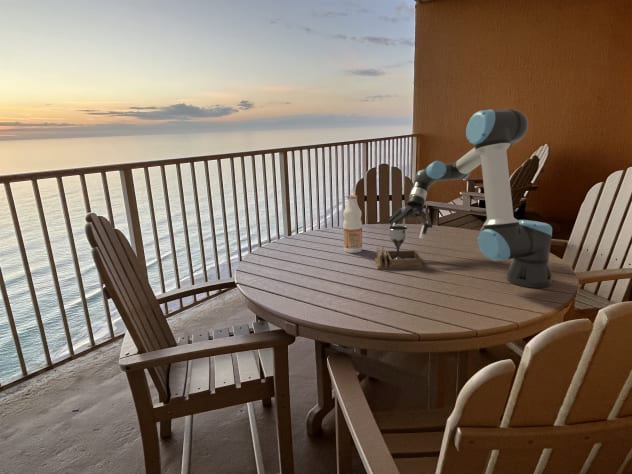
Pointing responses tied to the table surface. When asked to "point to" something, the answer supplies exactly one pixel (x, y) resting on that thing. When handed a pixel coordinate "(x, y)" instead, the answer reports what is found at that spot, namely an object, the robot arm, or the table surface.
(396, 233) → the silver goblet
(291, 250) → the table surface
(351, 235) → the fruit juice
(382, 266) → the wooden tray
